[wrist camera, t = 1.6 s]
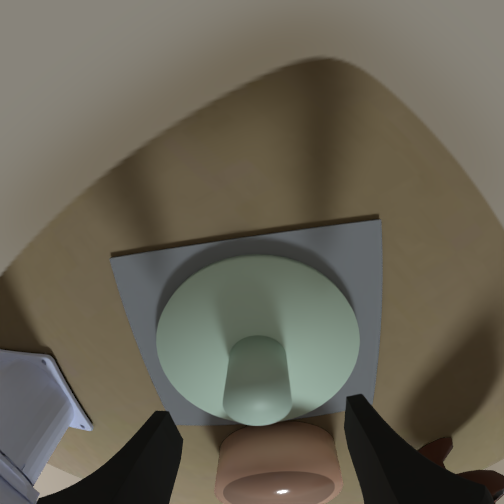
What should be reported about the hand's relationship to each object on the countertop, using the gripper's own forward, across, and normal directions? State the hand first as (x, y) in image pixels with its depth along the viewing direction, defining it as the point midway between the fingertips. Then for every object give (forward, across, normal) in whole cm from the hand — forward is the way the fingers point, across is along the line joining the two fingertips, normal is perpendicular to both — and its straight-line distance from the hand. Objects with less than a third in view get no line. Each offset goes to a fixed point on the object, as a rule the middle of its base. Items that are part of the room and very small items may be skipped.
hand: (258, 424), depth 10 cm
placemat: (+6, 0, 0) cm, 6 cm away
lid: (+6, 0, 0) cm, 6 cm away
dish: (+6, 0, +11) cm, 12 cm away
